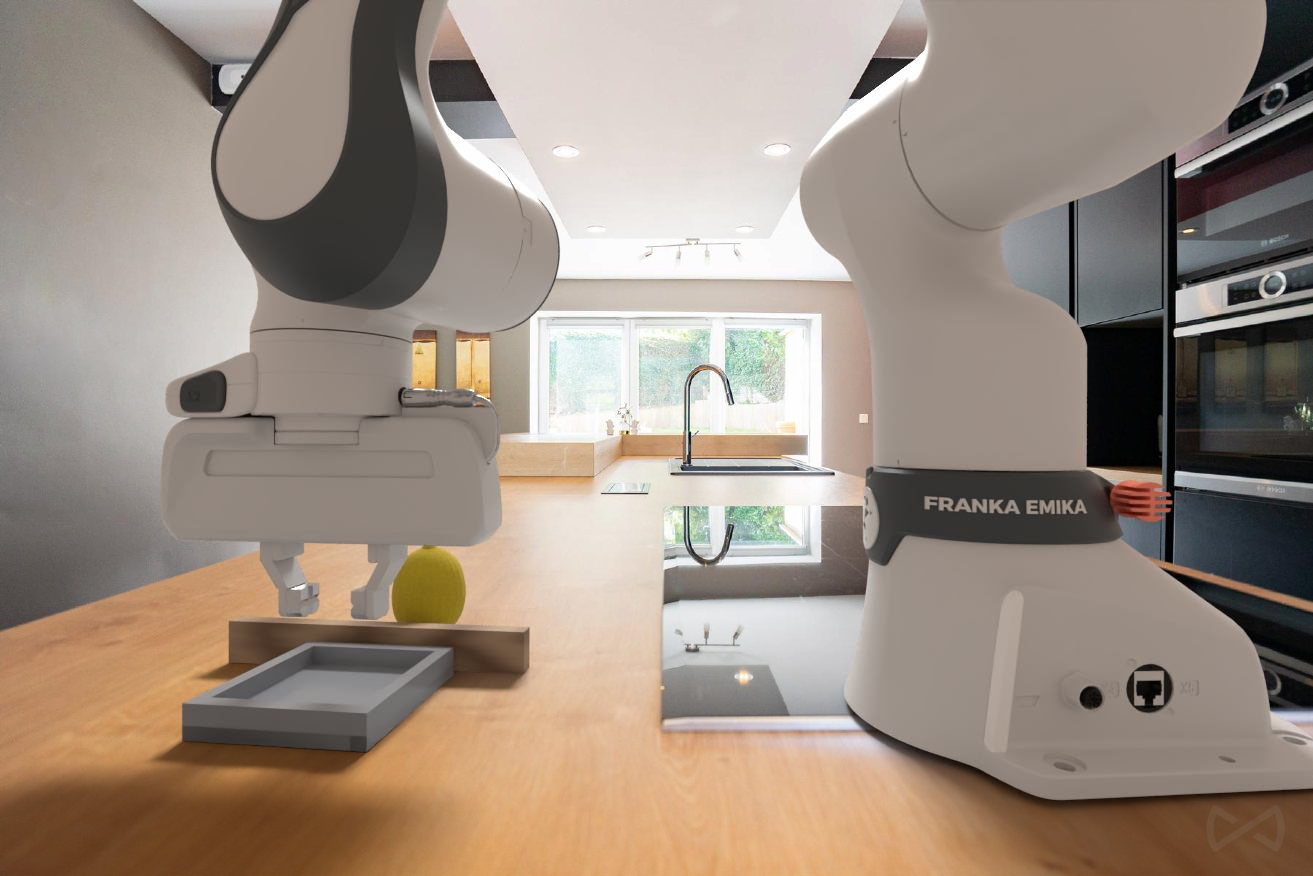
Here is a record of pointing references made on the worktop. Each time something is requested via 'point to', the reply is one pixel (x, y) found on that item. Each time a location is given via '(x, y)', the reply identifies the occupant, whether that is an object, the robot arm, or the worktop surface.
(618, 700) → the worktop surface
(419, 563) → the lemon
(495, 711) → the worktop surface
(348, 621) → the rail
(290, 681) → the dish
